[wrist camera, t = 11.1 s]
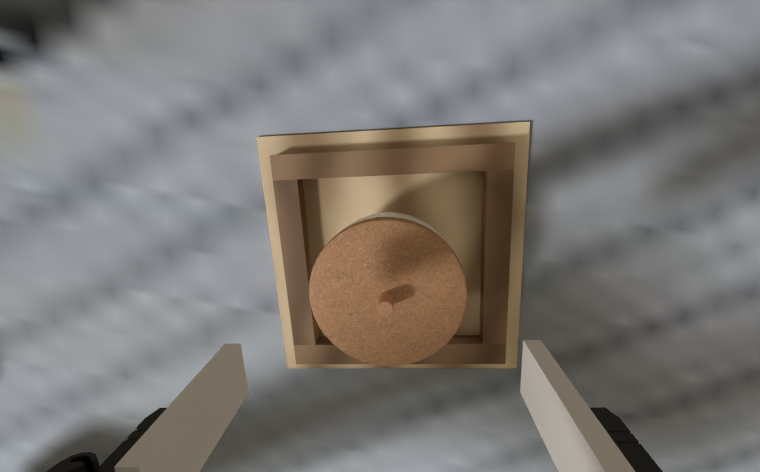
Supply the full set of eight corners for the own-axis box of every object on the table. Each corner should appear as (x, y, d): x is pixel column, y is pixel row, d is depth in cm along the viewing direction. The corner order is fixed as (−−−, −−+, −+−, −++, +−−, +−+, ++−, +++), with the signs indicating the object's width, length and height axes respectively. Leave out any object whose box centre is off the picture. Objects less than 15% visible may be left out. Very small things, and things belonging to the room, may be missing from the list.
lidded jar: (315, 219, 30) (276, 251, 21) (435, 184, 29) (448, 203, 20) (352, 327, 33) (332, 396, 24) (465, 300, 31) (489, 363, 22)
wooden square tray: (288, 366, 35) (282, 378, 33) (257, 137, 29) (248, 136, 27) (515, 366, 33) (521, 378, 31) (528, 121, 27) (537, 120, 26)
